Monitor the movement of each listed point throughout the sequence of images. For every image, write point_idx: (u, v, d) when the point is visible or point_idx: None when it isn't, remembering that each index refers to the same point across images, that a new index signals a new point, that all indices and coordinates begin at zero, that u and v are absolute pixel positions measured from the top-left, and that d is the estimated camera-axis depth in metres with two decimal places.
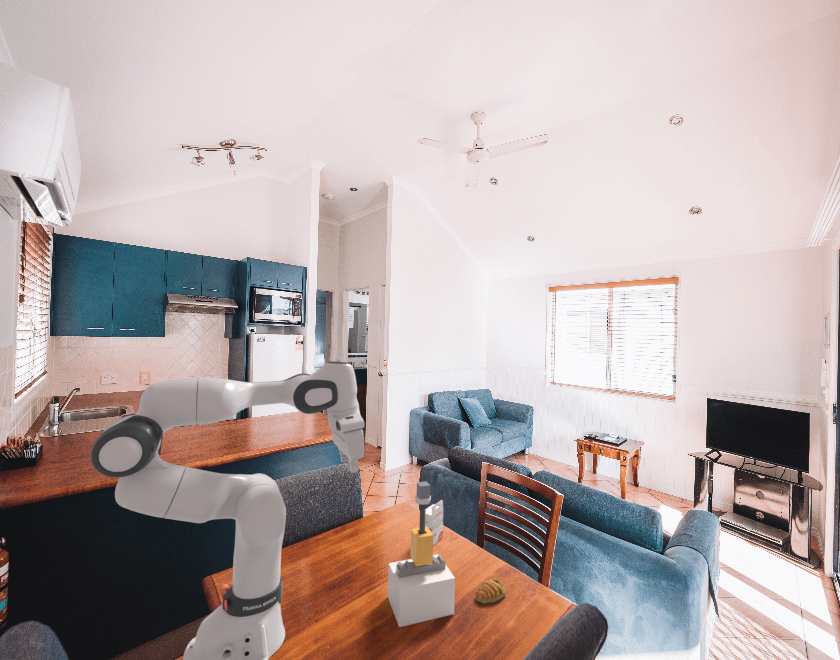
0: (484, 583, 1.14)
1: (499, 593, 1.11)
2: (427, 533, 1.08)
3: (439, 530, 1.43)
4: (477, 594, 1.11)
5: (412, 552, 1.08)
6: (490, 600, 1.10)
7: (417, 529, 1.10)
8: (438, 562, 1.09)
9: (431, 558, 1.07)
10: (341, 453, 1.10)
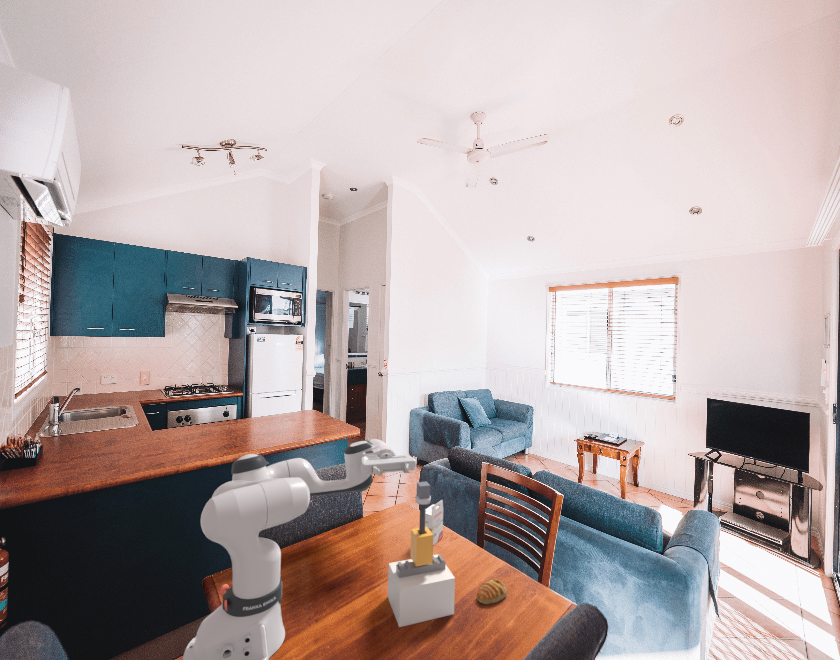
0: (485, 584, 1.14)
1: (500, 593, 1.11)
2: (427, 533, 1.08)
3: (439, 530, 1.43)
4: (478, 595, 1.11)
5: (412, 552, 1.08)
6: (491, 601, 1.09)
7: (417, 529, 1.10)
8: (438, 562, 1.09)
9: (431, 558, 1.07)
10: None
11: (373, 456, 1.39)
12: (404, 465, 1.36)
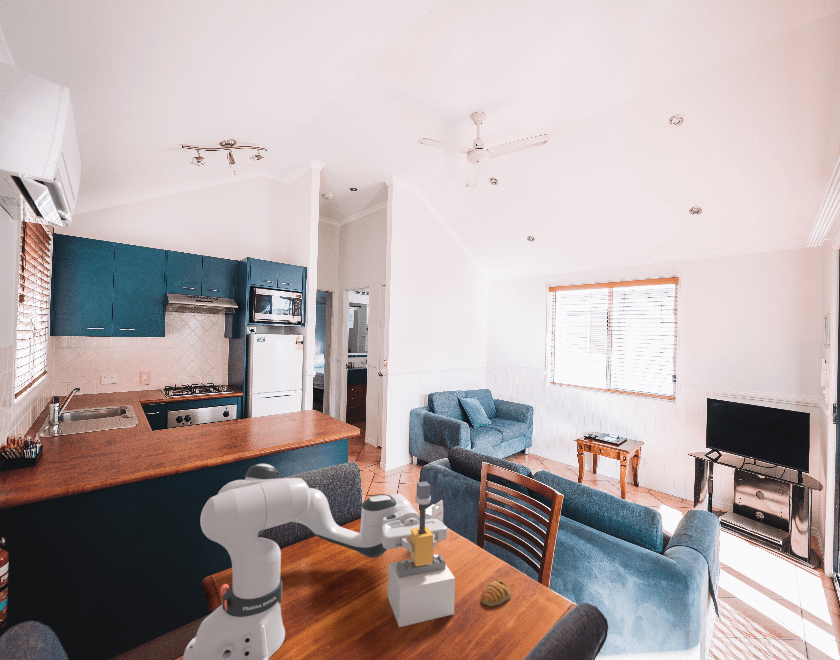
0: (489, 585, 1.13)
1: (505, 595, 1.11)
2: (427, 533, 1.08)
3: None
4: (483, 597, 1.10)
5: (412, 552, 1.08)
6: (496, 602, 1.09)
7: (417, 529, 1.10)
8: (438, 562, 1.09)
9: (431, 558, 1.07)
10: None
11: (396, 523, 1.16)
12: None
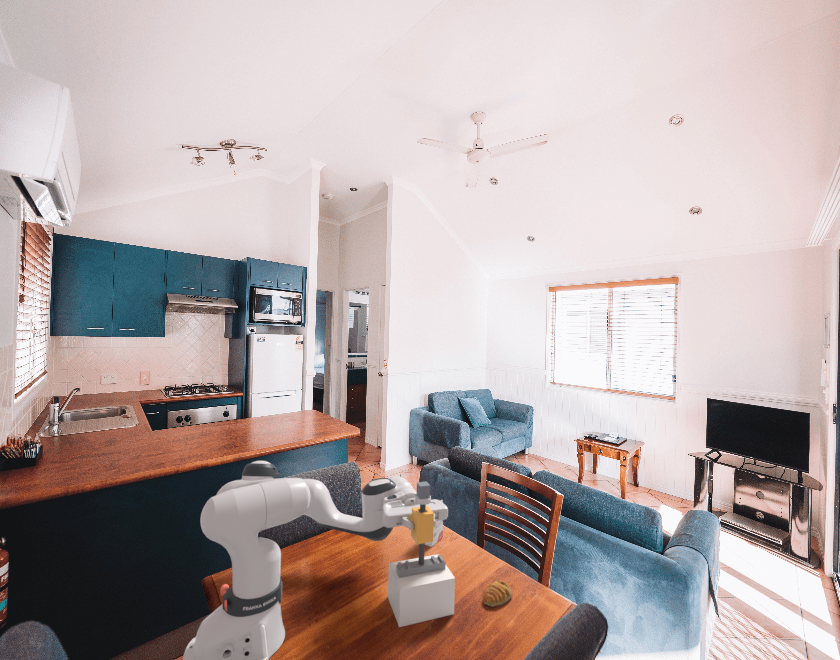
0: (490, 586, 1.13)
1: (506, 595, 1.11)
2: (428, 511, 1.08)
3: (439, 530, 1.43)
4: (485, 598, 1.09)
5: (413, 531, 1.08)
6: (498, 603, 1.08)
7: (418, 508, 1.10)
8: (438, 562, 1.09)
9: (432, 536, 1.07)
10: None
11: (397, 503, 1.16)
12: None
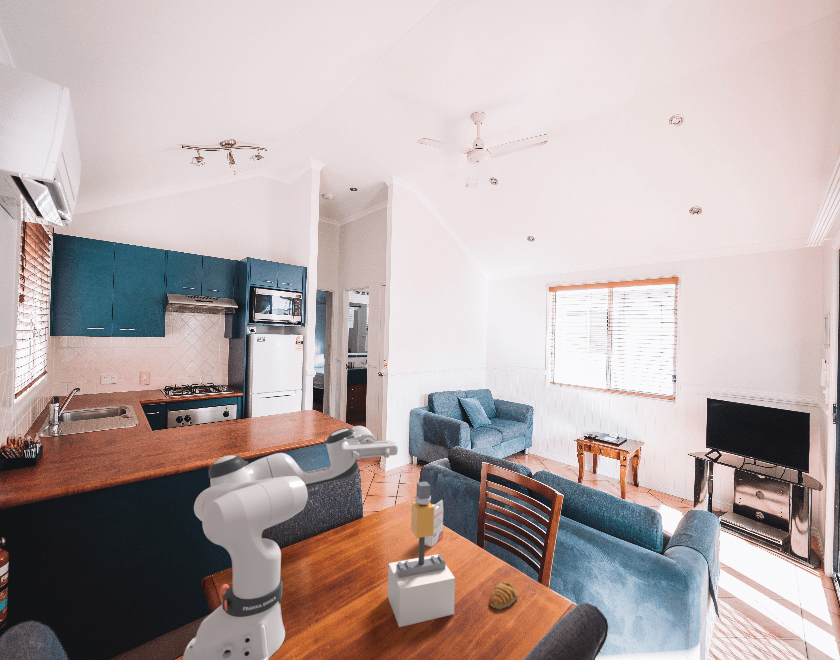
0: (496, 588, 1.12)
1: (512, 596, 1.10)
2: (428, 505, 1.08)
3: (439, 530, 1.43)
4: (492, 600, 1.08)
5: (413, 524, 1.08)
6: (505, 605, 1.08)
7: None
8: (438, 562, 1.09)
9: (432, 530, 1.07)
10: None
11: (354, 441, 1.37)
12: (385, 450, 1.34)
